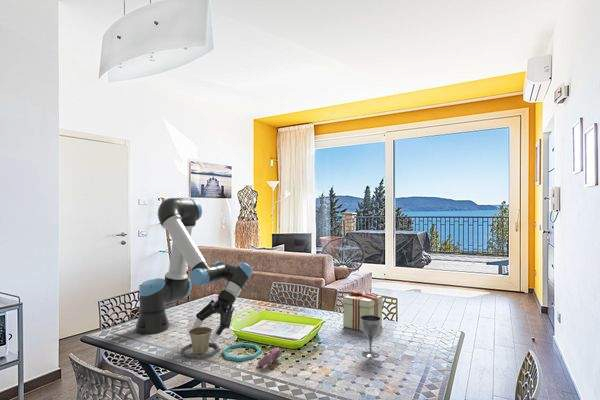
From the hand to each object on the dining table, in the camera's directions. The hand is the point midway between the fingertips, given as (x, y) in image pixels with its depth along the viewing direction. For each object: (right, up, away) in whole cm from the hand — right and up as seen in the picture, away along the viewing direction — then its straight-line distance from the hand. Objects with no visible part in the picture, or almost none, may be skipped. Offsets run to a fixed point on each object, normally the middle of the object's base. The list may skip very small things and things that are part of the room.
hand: (201, 337), depth 154 cm
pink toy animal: (+30, -6, -11) cm, 32 cm away
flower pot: (0, -6, +1) cm, 6 cm away
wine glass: (+70, -6, -2) cm, 70 cm away
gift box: (+73, -6, +33) cm, 80 cm away
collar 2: (+17, -6, -1) cm, 18 cm away
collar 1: (0, -6, +1) cm, 6 cm away
